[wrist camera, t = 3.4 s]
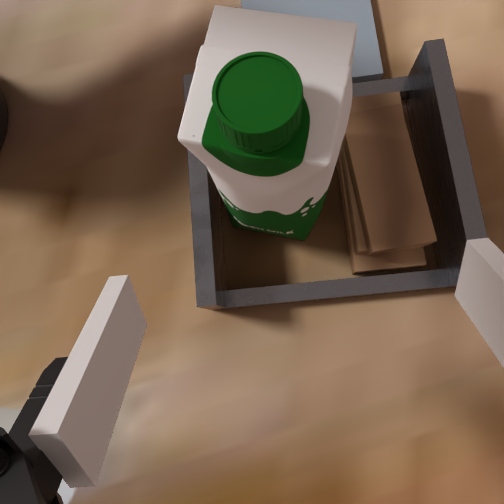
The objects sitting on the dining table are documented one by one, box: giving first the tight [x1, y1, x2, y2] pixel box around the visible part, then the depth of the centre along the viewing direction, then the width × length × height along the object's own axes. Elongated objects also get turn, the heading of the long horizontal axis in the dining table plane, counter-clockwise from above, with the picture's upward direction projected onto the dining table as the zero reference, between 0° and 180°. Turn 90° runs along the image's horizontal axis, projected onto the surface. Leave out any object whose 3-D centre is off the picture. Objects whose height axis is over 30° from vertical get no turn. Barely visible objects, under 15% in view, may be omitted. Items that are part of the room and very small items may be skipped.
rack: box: [183, 39, 487, 310], centre depth 33 cm, size 22×20×6 cm
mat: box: [241, 0, 383, 84], centre depth 39 cm, size 13×13×1 cm
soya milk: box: [177, 5, 357, 241], centre depth 26 cm, size 9×9×20 cm
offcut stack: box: [336, 91, 437, 274], centre depth 33 cm, size 6×16×5 cm, turn 5°
